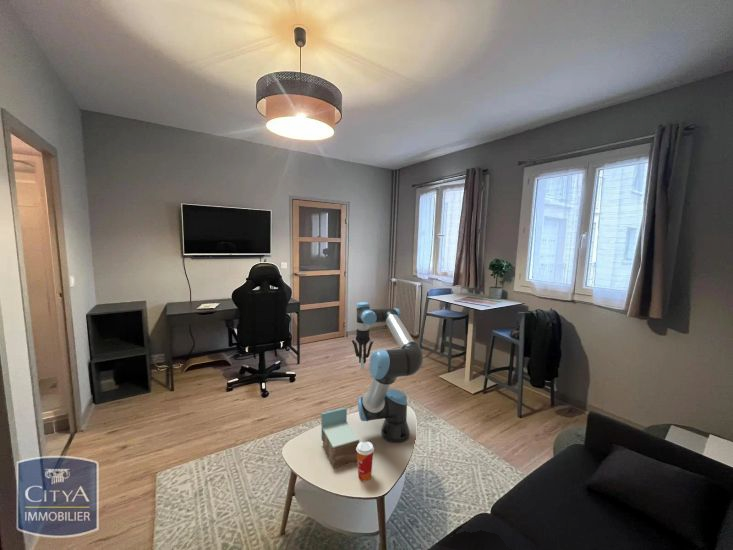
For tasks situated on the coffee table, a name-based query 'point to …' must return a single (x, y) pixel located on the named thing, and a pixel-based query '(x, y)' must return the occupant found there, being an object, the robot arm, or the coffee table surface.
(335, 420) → the teal l-shaped piece
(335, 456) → the walnut box
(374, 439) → the coffee table surface
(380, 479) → the coffee table surface
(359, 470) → the pill bottle
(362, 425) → the coffee table surface
